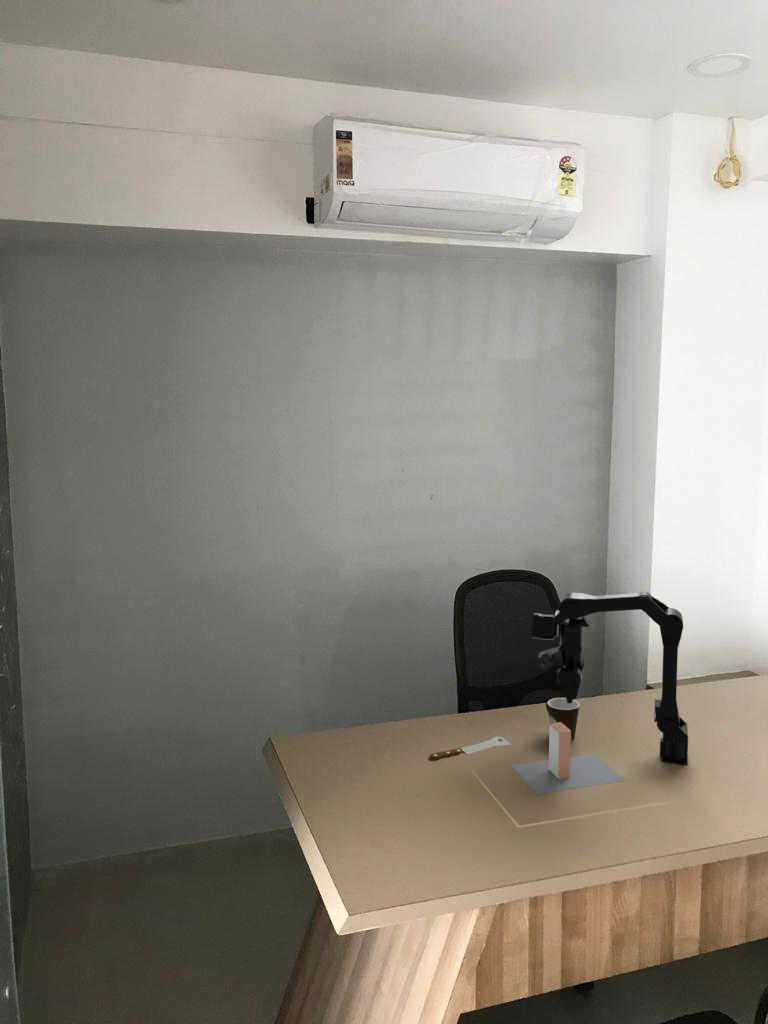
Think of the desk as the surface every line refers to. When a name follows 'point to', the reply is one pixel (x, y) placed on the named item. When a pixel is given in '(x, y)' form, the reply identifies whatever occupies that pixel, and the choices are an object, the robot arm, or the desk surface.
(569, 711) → the coffee mug
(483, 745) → the kitchen cleaver
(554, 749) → the tall peach block
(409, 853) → the desk surface
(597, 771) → the felt mat
